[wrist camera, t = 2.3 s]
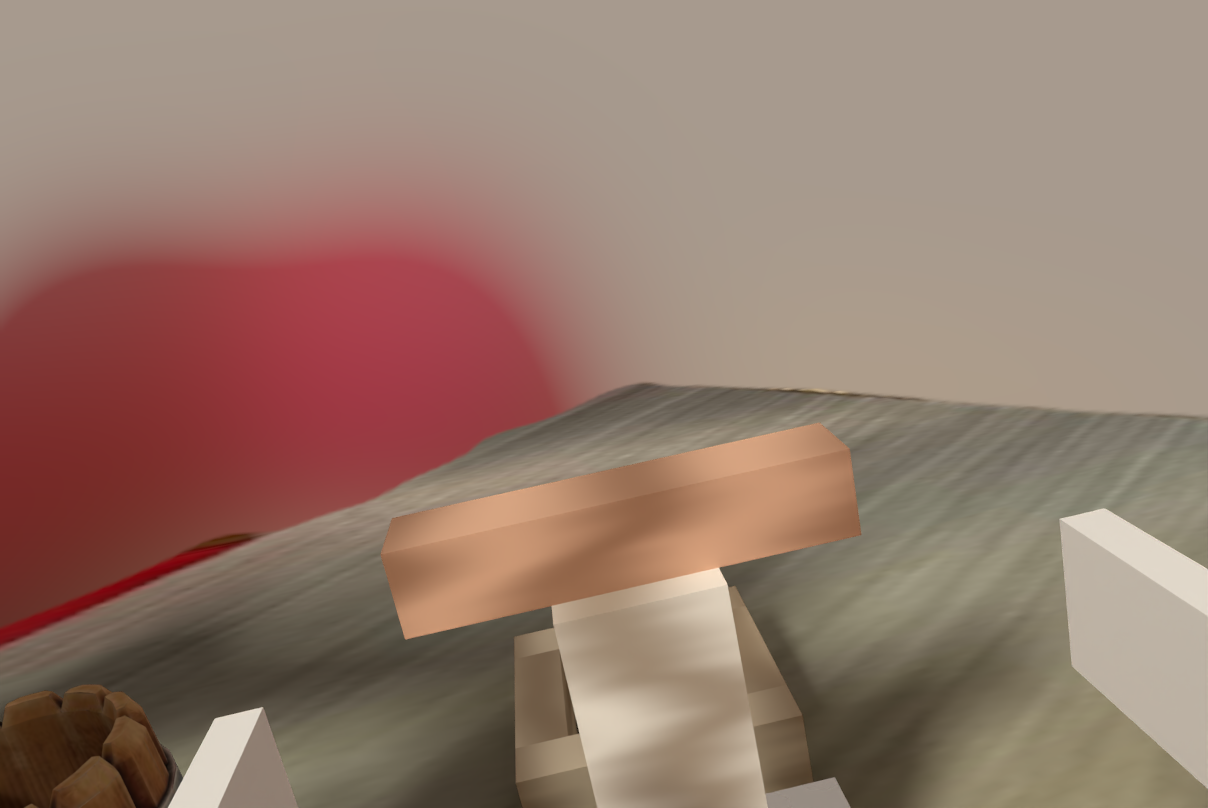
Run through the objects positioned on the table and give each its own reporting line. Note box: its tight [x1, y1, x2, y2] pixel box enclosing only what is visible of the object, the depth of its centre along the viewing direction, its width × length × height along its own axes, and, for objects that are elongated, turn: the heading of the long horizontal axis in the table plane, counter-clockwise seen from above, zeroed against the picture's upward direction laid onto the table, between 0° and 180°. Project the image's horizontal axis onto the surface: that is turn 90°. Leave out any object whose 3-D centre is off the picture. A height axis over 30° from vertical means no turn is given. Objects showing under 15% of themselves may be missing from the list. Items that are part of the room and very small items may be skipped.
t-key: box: [381, 423, 861, 808], centre depth 27 cm, size 12×4×19 cm, turn 96°
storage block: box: [514, 586, 813, 808], centre depth 45 cm, size 12×12×4 cm
